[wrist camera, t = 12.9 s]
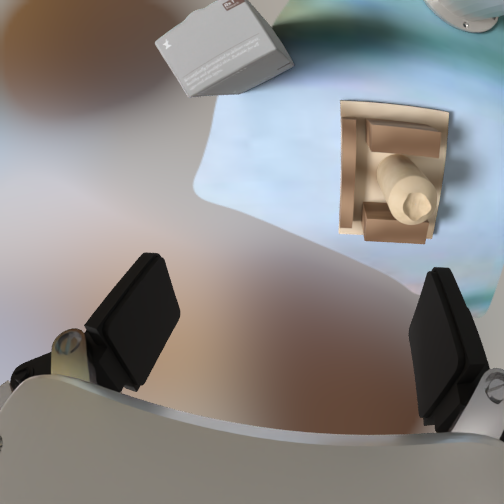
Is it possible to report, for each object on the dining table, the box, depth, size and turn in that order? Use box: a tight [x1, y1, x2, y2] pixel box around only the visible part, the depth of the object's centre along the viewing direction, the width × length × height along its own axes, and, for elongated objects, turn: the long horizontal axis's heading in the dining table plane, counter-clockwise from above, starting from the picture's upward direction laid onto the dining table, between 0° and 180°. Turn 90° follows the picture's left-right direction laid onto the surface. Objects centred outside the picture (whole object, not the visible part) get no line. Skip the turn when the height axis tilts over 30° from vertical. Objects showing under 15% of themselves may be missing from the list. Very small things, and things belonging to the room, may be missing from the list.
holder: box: [339, 100, 449, 244], centre depth 32 cm, size 18×14×6 cm
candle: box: [377, 154, 437, 225], centre depth 30 cm, size 6×6×10 cm
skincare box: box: [155, 0, 294, 98], centre depth 25 cm, size 8×7×16 cm
